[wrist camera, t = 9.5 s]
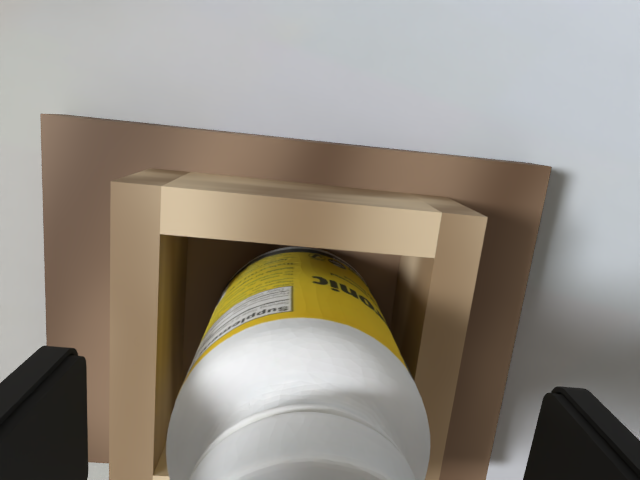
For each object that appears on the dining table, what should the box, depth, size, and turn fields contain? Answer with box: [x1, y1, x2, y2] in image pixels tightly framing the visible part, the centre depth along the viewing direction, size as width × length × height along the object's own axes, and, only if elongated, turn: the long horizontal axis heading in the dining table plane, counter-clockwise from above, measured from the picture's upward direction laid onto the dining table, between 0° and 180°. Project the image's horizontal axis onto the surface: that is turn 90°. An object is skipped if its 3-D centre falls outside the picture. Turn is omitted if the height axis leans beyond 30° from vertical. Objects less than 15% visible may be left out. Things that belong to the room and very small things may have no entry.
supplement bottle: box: [166, 246, 430, 480], centre depth 12 cm, size 5×5×10 cm
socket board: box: [41, 114, 552, 480], centre depth 16 cm, size 16×12×5 cm
